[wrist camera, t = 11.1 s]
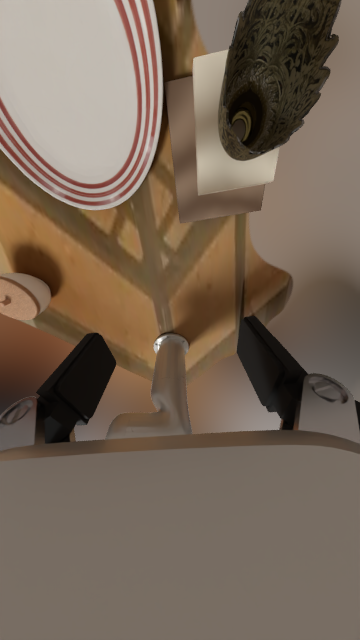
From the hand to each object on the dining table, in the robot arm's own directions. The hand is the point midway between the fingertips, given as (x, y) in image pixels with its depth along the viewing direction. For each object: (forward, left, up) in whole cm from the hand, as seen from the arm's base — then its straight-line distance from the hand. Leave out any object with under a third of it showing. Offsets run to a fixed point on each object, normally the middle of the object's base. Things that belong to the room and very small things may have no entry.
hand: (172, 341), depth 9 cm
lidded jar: (-3, +38, -29) cm, 48 cm away
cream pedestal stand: (+14, -10, -29) cm, 34 cm away
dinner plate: (+24, +12, -29) cm, 40 cm away
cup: (+14, -9, -19) cm, 26 cm away
